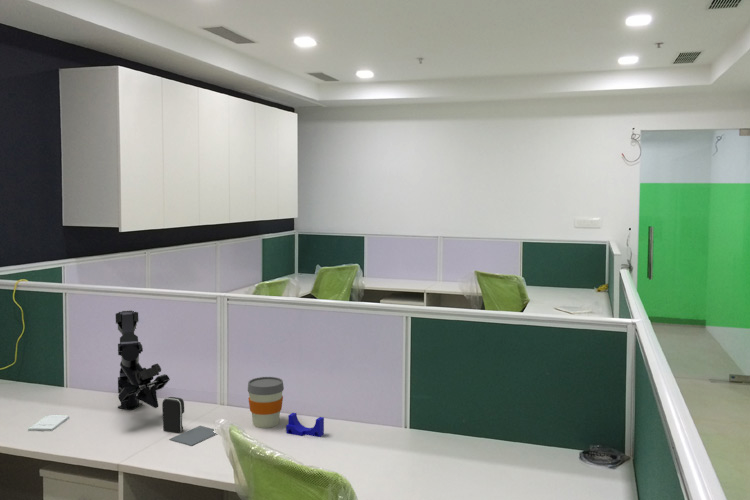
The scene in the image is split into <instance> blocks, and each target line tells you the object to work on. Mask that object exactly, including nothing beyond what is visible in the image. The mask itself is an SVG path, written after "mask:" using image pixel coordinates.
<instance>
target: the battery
mask: <svg viewBox="0 0 750 500" xmlns="http://www.w3.org/2000/svg"><path fill="white" fill-rule="evenodd" d="M161 405H162V425H163V426H162V427H163V428H162V430H163V431H166V432H171V433H182V432H183V431H184V426H183V414H184V413H185V400H184V399H183V398H181V397H174V396H169V397H166V398H164V399H163V401H162V404H161Z"/></svg>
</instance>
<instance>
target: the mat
mask: <svg viewBox="0 0 750 500" xmlns="http://www.w3.org/2000/svg"><path fill="white" fill-rule="evenodd" d="M214 429H215V428H210V427H206V426H202V425H198V426H195V427H193V428H192V429H189V430H187V431H184V432H181V433H179V434H178V435H175V436H173V437H171V438H169V439H168V440H169V441H173V442H175V443H179V444H183V445H187V446H189V447H193V446H195V445H197V444H199V443H201V442H203V441H205V440H208V439H210V438H212V437H214V436H216V435H217V434H216V433H214V432H213V431H214ZM215 434H216V435H215Z"/></svg>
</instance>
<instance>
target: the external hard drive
mask: <svg viewBox="0 0 750 500" xmlns="http://www.w3.org/2000/svg"><path fill="white" fill-rule="evenodd" d="M69 419H70V415H68V414H67V415H59V414H58V415H56V414H55V415H54V414H53V415H52V414H47V415H46V416H44V417H43V418H41V419H40V420H38V421H36V423H34V424H33V425H32V426H30V427H29V428H28V429H27V432H53V431H54V430H56V429H57V428H59V427H60V426H61V425H63V424H64V423H65V422H67V421H68V420H69Z"/></svg>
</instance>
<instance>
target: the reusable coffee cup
mask: <svg viewBox="0 0 750 500" xmlns="http://www.w3.org/2000/svg"><path fill="white" fill-rule="evenodd" d="M283 391H284V380H283V379H282V378H280V377H276V376H275V377H274V376H262V377H261V376H259V377H256V378H252V379H249V380H248V384H247V392H248V399H247V400H248V404H249V411H250V412H251V417H252V418H251V419H252V425H253V426H254V427H256V428H262V429H263V428H264V429H268V428H272V427H276V426H278V425H279V423H280V415H281V410H282V408H283V401H284V396H283Z"/></svg>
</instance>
